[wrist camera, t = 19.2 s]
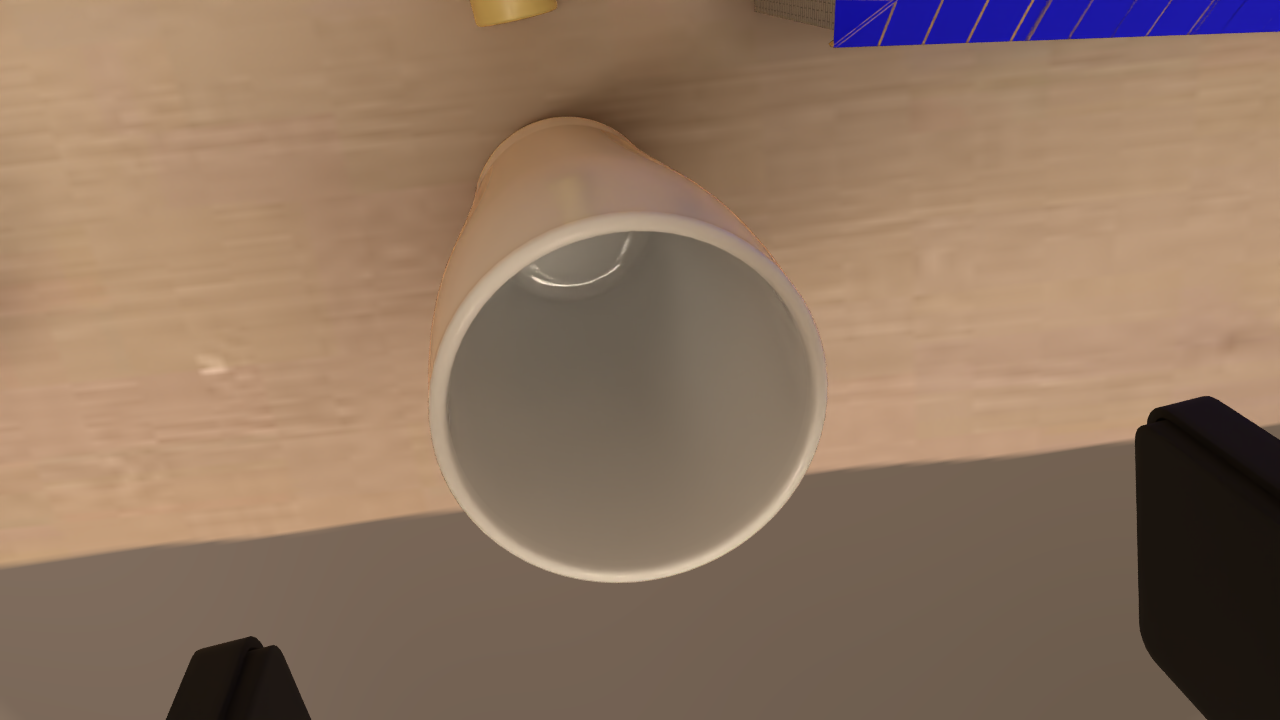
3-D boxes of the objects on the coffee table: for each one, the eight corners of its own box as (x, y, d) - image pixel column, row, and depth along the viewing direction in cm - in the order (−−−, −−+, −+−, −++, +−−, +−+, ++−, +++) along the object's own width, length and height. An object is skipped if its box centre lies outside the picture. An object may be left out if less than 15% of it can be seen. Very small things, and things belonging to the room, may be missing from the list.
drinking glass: (669, 73, 30) (830, 182, 16) (687, 298, 33) (840, 558, 19) (430, 101, 29) (385, 239, 16) (467, 328, 32) (458, 620, 18)
